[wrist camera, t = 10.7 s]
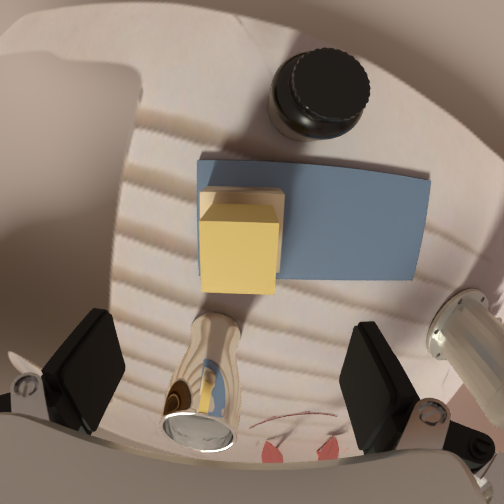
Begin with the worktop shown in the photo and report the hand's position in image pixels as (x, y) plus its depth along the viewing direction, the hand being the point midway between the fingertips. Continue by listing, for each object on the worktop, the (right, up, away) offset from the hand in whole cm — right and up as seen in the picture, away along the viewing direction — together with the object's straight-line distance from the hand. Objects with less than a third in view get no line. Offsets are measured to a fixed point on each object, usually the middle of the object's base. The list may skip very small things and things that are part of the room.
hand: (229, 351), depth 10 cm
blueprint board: (+8, +7, +19) cm, 21 cm away
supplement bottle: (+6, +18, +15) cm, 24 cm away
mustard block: (0, +5, +14) cm, 15 cm away
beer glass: (-4, -6, +24) cm, 25 cm away
